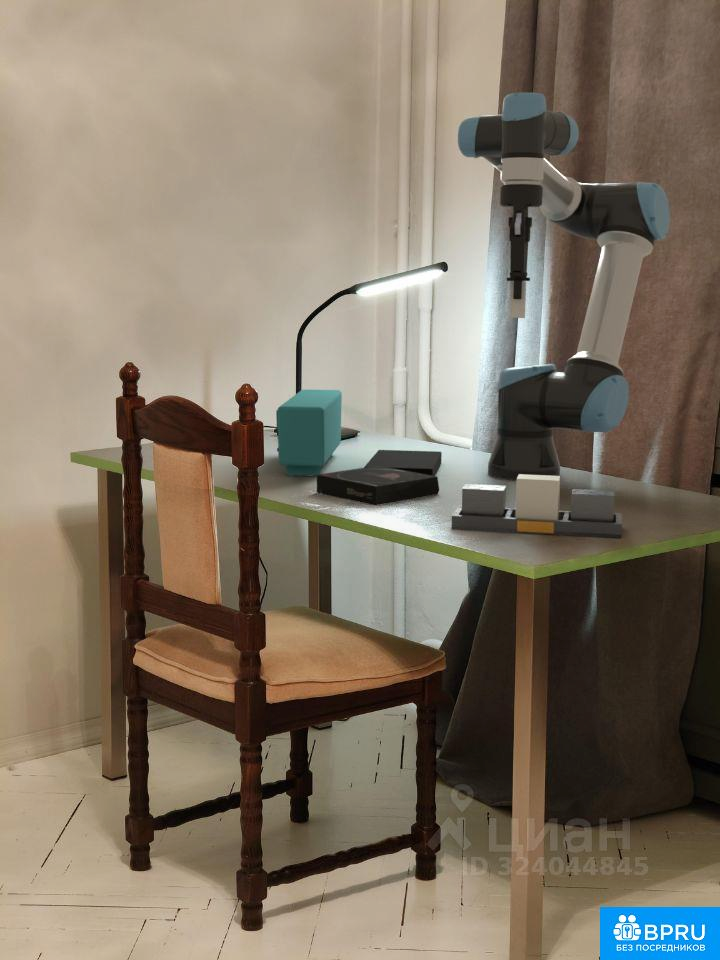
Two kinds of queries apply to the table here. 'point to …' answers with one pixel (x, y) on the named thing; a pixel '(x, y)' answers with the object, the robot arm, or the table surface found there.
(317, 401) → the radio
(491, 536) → the table surface
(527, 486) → the beige rectangular block
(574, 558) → the table surface
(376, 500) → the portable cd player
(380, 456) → the external hard drive
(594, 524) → the rack
